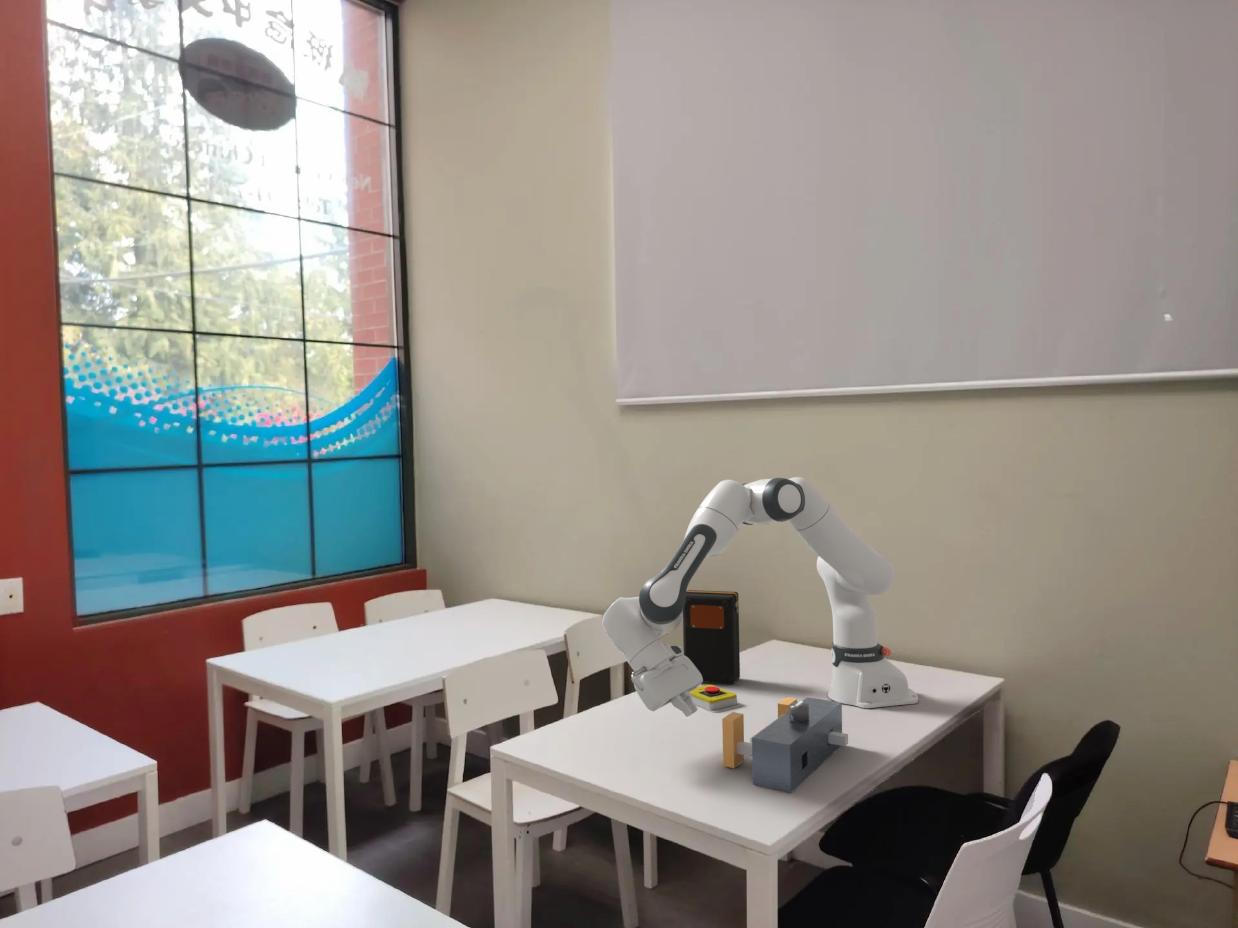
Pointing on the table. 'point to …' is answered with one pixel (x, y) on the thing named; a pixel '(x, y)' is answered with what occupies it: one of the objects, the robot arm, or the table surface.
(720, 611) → the black box
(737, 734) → the knob
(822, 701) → the mount
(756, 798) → the table surface
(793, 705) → the dial
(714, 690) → the emergency button
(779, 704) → the knob
